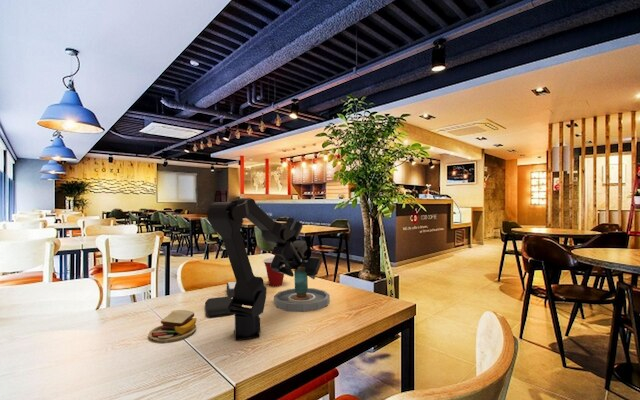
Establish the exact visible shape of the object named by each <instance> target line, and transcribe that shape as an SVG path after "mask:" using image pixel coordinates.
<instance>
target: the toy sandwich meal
mask: <svg viewBox="0 0 640 400" xmlns="http://www.w3.org/2000/svg"><path fill="white" fill-rule="evenodd" d="M196 322H197V318H196V317H195V312H194V311H193V310H192V311H191V310H186V309H176V310H175V309H174V310H172V311H171V312H170V313H169V314H168V315H167V316H165V317H163V318H162V319H161V320H160V324H161V325H159V326H156V327H154V328H152V329H151V330H150V331H149V332H148V337H149V339H151V340H152V339H153V341H154V340H156V341H155V342H158V341H164V342H163V343H166V342H165V341H170V342H175V341H179V340H183V339H186V338H188V337H189V336H191V335H192V334H193V333H194V332H195V331H196V329H197V325H196Z"/></svg>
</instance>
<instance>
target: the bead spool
mask: <svg viewBox="0 0 640 400" xmlns="http://www.w3.org/2000/svg"><path fill="white" fill-rule="evenodd" d="M293 274H294V276H293V277H294V289H295V292H296V293H297V295H294V296H293V299H294V300H309V299H310V296H309V295H308V294H306V292H308V288H309V284H308V283H309V281H308V276H307V273H306V272H305V267H300V266H299V267H298V269H297V270H296V269H293Z"/></svg>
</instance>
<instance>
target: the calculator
mask: <svg viewBox="0 0 640 400" xmlns="http://www.w3.org/2000/svg"><path fill="white" fill-rule="evenodd" d="M235 284H236V281H228V282H227V283H226V290H225V291H226V296H227V297H231V299H232V298H233V296H234V295H235V294H234V287H235ZM264 286H265V287H266V289H265V292H266V293H267V290H268V289H267V286H266V285H265V284H264Z"/></svg>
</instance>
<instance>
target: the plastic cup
mask: <svg viewBox="0 0 640 400" xmlns="http://www.w3.org/2000/svg"><path fill="white" fill-rule="evenodd" d="M273 258H274V256H273V257H268V258H264V259H263V260H262V262H263V263H264V266H265V269H266V275H267V279H268V285H269V286H270V287H281V286H283V282H284V277H285V274H282V273H279V272H276V271H273V270H272V269H271V267H270V264H271V262H272V260H273Z"/></svg>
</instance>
